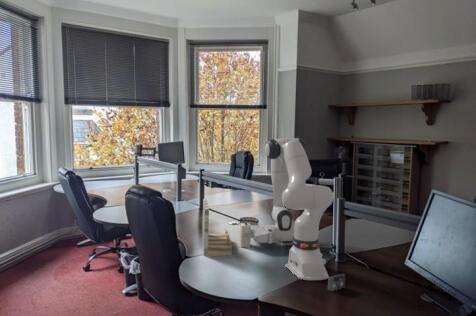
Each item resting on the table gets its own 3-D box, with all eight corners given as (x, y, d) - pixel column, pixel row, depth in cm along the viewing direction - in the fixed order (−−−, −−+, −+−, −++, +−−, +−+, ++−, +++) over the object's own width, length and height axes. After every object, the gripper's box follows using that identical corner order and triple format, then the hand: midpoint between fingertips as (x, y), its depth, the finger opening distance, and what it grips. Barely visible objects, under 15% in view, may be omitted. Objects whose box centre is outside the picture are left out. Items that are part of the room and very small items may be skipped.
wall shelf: (231, 255, 188) (232, 209, 185) (203, 255, 186) (204, 209, 183) (226, 240, 211) (227, 199, 209) (202, 240, 209) (203, 199, 207)
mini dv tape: (342, 286, 155) (343, 273, 154) (344, 288, 154) (345, 274, 153) (327, 290, 151) (328, 276, 150) (329, 292, 150) (330, 277, 149)
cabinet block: (250, 247, 200) (250, 223, 199) (241, 247, 200) (241, 223, 198) (248, 244, 205) (249, 220, 204) (239, 244, 205) (240, 220, 203)
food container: (260, 233, 225) (261, 217, 224) (258, 236, 220) (259, 220, 219) (241, 231, 229) (241, 215, 228) (238, 234, 223) (239, 218, 222)
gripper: (264, 222, 214) (241, 222, 212) (272, 233, 193) (246, 233, 192) (264, 233, 214) (241, 233, 212) (272, 244, 194) (246, 245, 192)
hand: (243, 233), depth 202 cm, fingers closed on cabinet block, 5 cm apart
